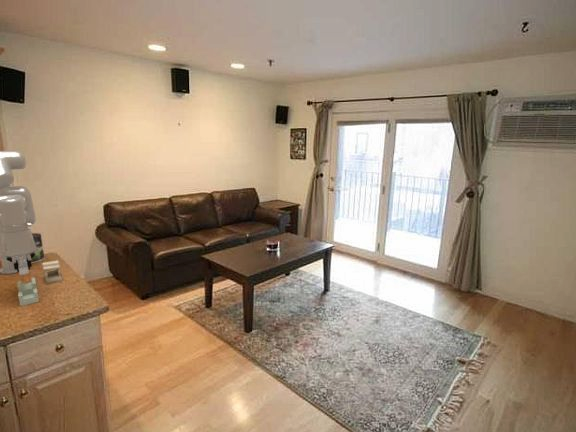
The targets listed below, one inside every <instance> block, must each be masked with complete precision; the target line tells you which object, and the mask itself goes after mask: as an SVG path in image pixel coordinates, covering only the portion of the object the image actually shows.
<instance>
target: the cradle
mask: <svg viewBox="0 0 576 432" xmlns="http://www.w3.org/2000/svg"><path fill="white" fill-rule="evenodd" d="M16 282H17V289H18V293H17V294H18V295H17V297H18V301H19V305H20V307H23V306H27V305H31V304H35V303H39V302H40V298H39V293H38V287H37V282H36V277H31V282H28V283H22V280H17V281H16Z"/></svg>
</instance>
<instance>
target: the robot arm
mask: <svg viewBox="0 0 576 432" xmlns="http://www.w3.org/2000/svg"><path fill="white" fill-rule="evenodd" d="M26 166H27V161H26V158H25V155H24V154H23V153H22V152H21V151H20V150H19V151H18V150H4V151H3V150H0V262H1V268H0V274H1V275H11V274H12V275H13V274H19V268H18V259H17V255H23V254H26V255H27V265H28V270H29V271H31V268H32V267H33V265H32V264H33V263H31V259H32V258H33V257H34V256H35V255H36V254H38V253H39V252H40V250H39V249H38V248H37V247H36V246H35V243H34V239H33V236H32V230H31V228H30V227H32V225H34V224H36V220H37V219H36V213H35V210H34V209H35V208H34V204H33V198H32V196H31V195H32V194H31V191H30V190H29V188H28V187H27V186H24V185H17V186H11V185H12V184H13V183H14V181H15V177H14V174H13V171H14V170H24V169H25V168H26ZM12 170H13V171H12ZM30 253H31V254H30Z"/></svg>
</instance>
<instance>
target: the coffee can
mask: <svg viewBox="0 0 576 432" xmlns="http://www.w3.org/2000/svg"><path fill="white" fill-rule="evenodd" d="M31 233H32V232H31ZM32 236H33V239H34V243H35V246H36V247H37V248H38V249H39V250H40V252H39V253H38V254H36V255H35V256H34V257H33V258H32V259H31V264H36V263H39V262H41V261H43V260H45V259H46V257H45V253H44V247H43V240H42V239H43V238H42V234H41V233H36V232H35V233H34V232H33V233H32ZM30 254H31V253H30ZM26 257H27V255H26Z"/></svg>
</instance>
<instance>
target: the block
mask: <svg viewBox="0 0 576 432" xmlns="http://www.w3.org/2000/svg"><path fill="white" fill-rule="evenodd" d="M41 264H42V265H41V266H42V269H43V270H42V271H43V274H44V280H45V283H46V285H49V284H54V283H57V282H58V283H59V282H63V276H62V271H61V265H60V262H59V260H58V259H56V260H51V261H45V262H42V263H41Z"/></svg>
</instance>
